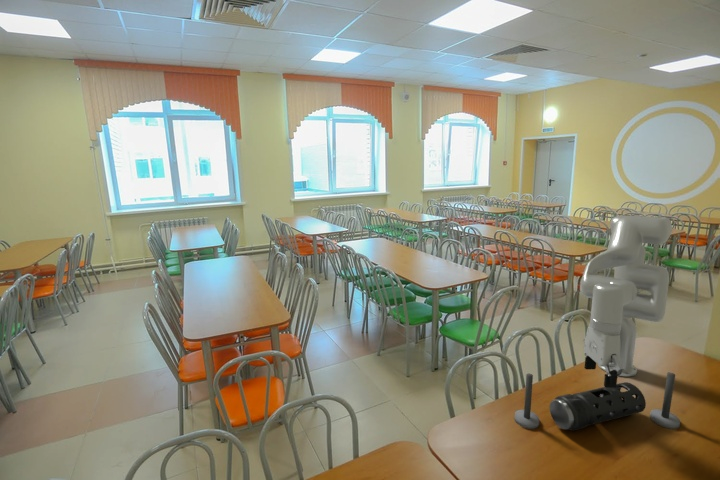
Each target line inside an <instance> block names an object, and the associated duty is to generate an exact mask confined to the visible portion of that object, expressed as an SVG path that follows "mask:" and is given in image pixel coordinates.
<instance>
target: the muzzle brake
mask: <svg viewBox="0 0 720 480" xmlns="http://www.w3.org/2000/svg"><path fill="white" fill-rule="evenodd" d="M622 388H623V389H625V390H626V391H621V390H622ZM634 396H635V397H634ZM646 404H647V402H646V399H645V396H644V394H643V392H642V391H641V390H640V389H639V388H638V387H637V386H636V385H634V384H632V383H631V382H619V383H617V385H616V387H615V388H606V387H604V386H603V387H598V388H594V389H589V390H585V391H580V392H576V393H573V394H572V393H566V394H563V395H557V396H556V397H555V398H554V399H553V400H551V402H550V403H549V414H550V415H551V418H552V420H553V422H554V424H555V425H556V426H557V427H558V428H560V429H562V430H569V431H576V430H581V429H583V428H586V427H587V426H591V425H595V424H600V423H603V422H607V421H612V420H615V419H619V418H622V417H628V416H631V415H634V414H639V413H642V412H643V411H644V410H645V409H646Z"/></svg>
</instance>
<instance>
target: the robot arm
mask: <svg viewBox="0 0 720 480" xmlns="http://www.w3.org/2000/svg"><path fill="white" fill-rule="evenodd" d="M609 227H610V233H611V234H610V238H609V242H608V244H607V245H608V246H607V249H606V250H604V251H602V252H601V253H599V254H597V255H595V256H594V257H593V258H591V259H590V260H589V261H588V263H586V266H585V267H584V270H583V273H582V277H581V279H580V285H579V290H580V293H581V295H582V296H584V297H585V298H589V299H592V300H591V301H592V302H591V311H590V319H589V320H590V321H589V324H588V327H587V330H586V335H585V339H584V338H583V352H584V356H585V358H584V370H596V368H597V366H598V367H599V368H600V369H601V370H602V371H604V372H606V373H604V379H603V380H604V381H603V387H606V388H615V387H616V385H617V384H618V377H634V376H636V375H637V373H638V369H637V367H636V366H635V365H633V364H634V363H633V362H634V355H635V350H636V349H635V348H636V339H637V333H638V330H637V326H636V323H635V322H634V321H633V319H636V320H642V321H647V322H651V323H652V322H653V323H659V322H661V321H662V320H663V319H664V317H665V313H666V308H667V300H668V291H669V284H670V274H669V271H668V269H667V268H666V267H664V266H661V265H657V264H656V265H655V264H648V263H645V259H646V253H647V251H646V248H645V247H644V245H643V244H651V245H664V244H665V243H666V242H667V241H668V240H669V239H670V237H671V234H672V228H673V227H672V222H671V220H670V219H669V218H668V217H661V216H659V217H658V216H643V215H617V216H614V217H612V218H611V220H610V225H609ZM612 268H614V271H613V272H614V273H613V274H614V275H613V277H612V276H606V275H605V276H604V275H599V274H598V273H599V272H601V271H603V270H607V269H612ZM597 274H598V275H597ZM638 290H641V291H646V292H647V291H648V292H649V293H650V294H647V293H641V292H638Z"/></svg>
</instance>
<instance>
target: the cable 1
mask: <svg viewBox="0 0 720 480" xmlns="http://www.w3.org/2000/svg"><path fill="white" fill-rule="evenodd" d="M525 376H526V378H525V392H524V393H525V394H524V407H523V409H519V410H516V411H515V413H514V421H515V423H516V424H517V425H519V427H521V426H522V428H524V429H528V430H536V429H537V428H538V427H539V426H540V418H539V416H538V415H537V414H536V413H535V412H533V411H531V410H532V394H533V379H534V375H533V374H532V373H526V375H525Z"/></svg>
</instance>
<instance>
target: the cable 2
mask: <svg viewBox="0 0 720 480" xmlns="http://www.w3.org/2000/svg"><path fill="white" fill-rule="evenodd" d="M675 379H676V374H675V373H674V372H667V374H666V381H665V385H664V386H665V387H664V388H665V389H664V396H663V400H662V408H661V409H660V408H659V409H657V408H654V409H651V410H650V413H649V414H650V415H649V418H650V420H651V421H652V422H653V423H654V424H656V425H658V426H660V427H663V428H666V429H671V430H676V429H678V428H680V425H681V420H680V418H679V417H678V416H677V415H675V414H674V413H672V412H671V407H672V400H673V393H674V388H675V387H674V385H675V381H676V380H675Z"/></svg>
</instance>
